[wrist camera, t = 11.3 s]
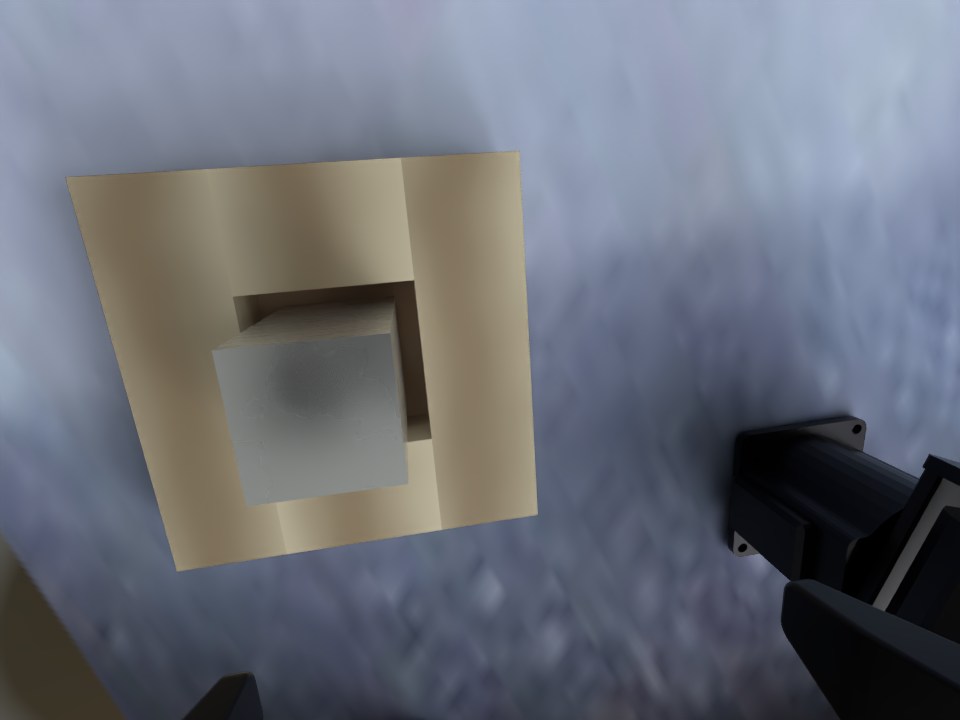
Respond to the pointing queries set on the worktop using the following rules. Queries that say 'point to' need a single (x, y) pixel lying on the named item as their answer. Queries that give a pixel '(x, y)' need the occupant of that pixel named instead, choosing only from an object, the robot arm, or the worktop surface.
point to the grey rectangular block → (316, 401)
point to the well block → (308, 280)
